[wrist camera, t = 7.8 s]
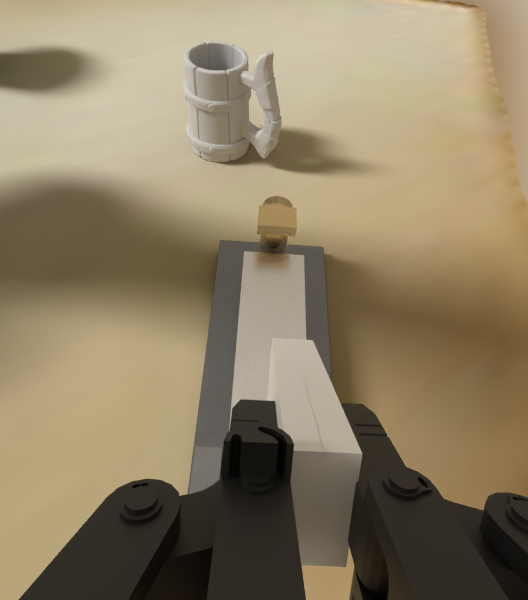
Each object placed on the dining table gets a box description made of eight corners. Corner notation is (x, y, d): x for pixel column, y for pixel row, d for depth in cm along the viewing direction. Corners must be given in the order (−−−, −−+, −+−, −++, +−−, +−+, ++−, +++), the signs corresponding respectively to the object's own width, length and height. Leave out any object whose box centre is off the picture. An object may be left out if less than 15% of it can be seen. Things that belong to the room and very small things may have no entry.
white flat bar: (306, 499, 23) (311, 497, 21) (224, 495, 23) (223, 492, 21) (301, 266, 32) (304, 252, 31) (243, 262, 32) (244, 248, 31)
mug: (213, 117, 48) (207, 5, 38) (292, 153, 45) (308, 43, 35) (174, 147, 44) (155, 32, 34) (257, 188, 41) (263, 77, 31)
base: (337, 540, 24) (371, 544, 18) (184, 533, 24) (166, 535, 18) (321, 253, 37) (338, 198, 31) (220, 246, 37) (217, 189, 31)
